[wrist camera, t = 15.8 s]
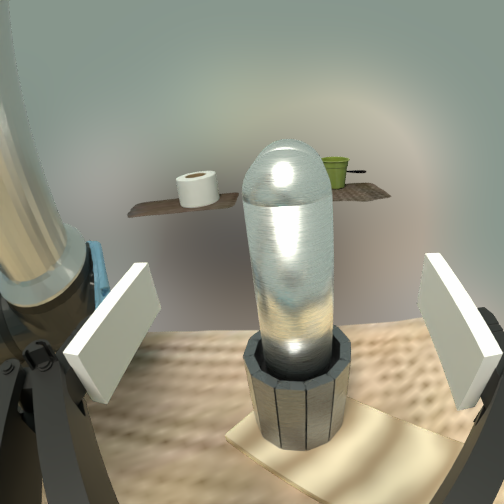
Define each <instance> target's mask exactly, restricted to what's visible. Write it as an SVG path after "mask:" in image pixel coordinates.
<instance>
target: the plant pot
mask: <svg viewBox="0 0 504 504" xmlns="http://www.w3.org/2000/svg"><path fill="white" fill-rule="evenodd" d="M321 159H322V161H323V164H324V166H325V169H326V171H327V174H328V176H329V179H330V182H331V188H332V189H339V188H344V186H345V178H346V169H347V166H348V161H349V158H344V157H325V158H321Z"/></svg>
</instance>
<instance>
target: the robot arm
mask: <svg viewBox="0 0 504 504" xmlns="http://www.w3.org/2000/svg"><path fill="white" fill-rule="evenodd" d="M9 1H10V0H0V504H42V478H43V483H44V488H45V492H46V497H47V501H48V504H119V503H118V500H117V498H116V495H115V493H114V490H113V488H112V485H111V482H110V480H109V477H108V474H107V471H106V468H105V466H104V463H103V460H102V457H101V454H100V450H99V447H98V444H97V441H96V437H95V434H94V431H93V427H92V423H91V420H90V416H89V412H88V408H87V404H86V402H85V400H84V399H83V397H84V395H85V393H86V392H87V393H88V395H89V396H90V398H91V399H92V401H95V402H99V403H103V404H108V402H109V400H110V398H111V396H112V395H113V393H114V391H115V389H116V387H117V385H118V384H119V382H120V380H121V378H122V376H123V374H124V373H125V371H126V369H127V367H128V365H129V364H130V362H131V360H132V358H133V356H134V355H135V353H136V351H137V349H138V348H139V346H140V344H141V342H142V341H143V339H144V337H145V335H146V334H147V332H148V330H149V328H150V327H151V325H152V323H153V321H154V320H155V318H156V316H157V315H158V313H159V311H160V310H161V306H160V302H159V299H158V296H157V293H156V289H155V286H154V283H153V279H152V276H151V272H150V269H149V266H148V263H134V264H133V266H132V267H131V268H130V269H129V271H127V273H126V274H125V275H124V276H123V277H122V279H121V280H120V281H119V282H118V283H117V285H116V286H115V287H114V288H113V289H112V291H110V287H109V282H108V278H107V273H106V268H105V263H104V257H103V252H102V247H101V244H100V243H99V242H97V241H87V242H86V243H85V240H84V238H83V236H82V235H81V233H80V232H79V231H78V230H77V229H76V228H75V227H73V226H71V225H69V224H65V223H62V220H61V218H60V215H59V213H58V210H57V208H56V205H55V202H54V199H53V197H52V194H51V191H50V188H49V186H48V183H47V180H46V177H45V174H44V171H43V168H42V165H41V162H40V158H39V156H38V153H37V149H36V146H35V142H34V138H33V135H32V132H31V128H30V124H29V120H28V116H27V112H26V108H25V104H24V100H23V95H22V90H21V86H20V81H19V76H18V70H17V65H16V59H15V53H14V47H13V39H12V31H11V22H10V11H9ZM417 305H418V307H419V310H420V312H421V314H422V316H423V319H424V321H425V324H426V326H427V328H428V331H429V333H430V336H431V338H432V341H433V343H434V346H435V348H436V351H437V354H438V356H439V359H440V361H441V364H442V367H443V370H444V372H445V375H446V378H447V381H448V384H449V387H450V390H451V393H452V396H453V399H454V402H455V405H456V408H457V411H458V410H463V409H468V408H472V407H475V405H476V404H477V402H478V400H479V399H480V397H481V399H482V401H483V404H484V405H483V407H482V408H481V410H480V412H479V413H478V415H477V416H476V418H475V419H474V421H473V422H475V423H474V425H473V427H472V430H471V432H470V434H469V436H468V438H467V440H466V442H465V444H464V446H463V447H462V449H461V451H460V453H459V455H458V457H457V459H456V460H455V462H454V464H453V466H452V467H451V469H450V471H449V473H448V474H447V476H446V478H445V479H444V481H443V483H442V484H441V486H440V487H439V489H438V490H437V492H436V494H435V495H434V497H433V498H432V500H431V501H430V503H429V504H493V501H494V499H495V497H496V495H497V493H498V491H499V489H500V487H501V484H502V482H503V480H504V332H503V329H502V328H501V326H500V325H499V323H498V321H497V320H496V318H495V316H494V315H493V314H492V313H491V312H490V311H488V310H487V309H486V308H485V307H482V308H476V306H475V304H474V303H473V301H472V300H471V298H470V297H469V295H468V294H467V292H466V290H465V289H464V287H463V286H462V284H461V283H460V281H459V280H458V278H457V277H456V276H455V274H454V273H453V271H452V270H451V268H450V267H449V265H448V264H447V263H446V261H445V260H444V258H443V257H442V256H441V254H440V253H428V254H425V259H424V265H423V271H422V277H421V283H420V289H419V294H418V300H417ZM55 353H56V354H55Z"/></svg>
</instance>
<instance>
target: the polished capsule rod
mask: <svg viewBox="0 0 504 504" xmlns="http://www.w3.org/2000/svg"><path fill="white" fill-rule="evenodd" d="M242 198H243V206H244V213H245V221H246V228H247V236H248V243H249V250H250V258H251V265H252V273H253V280H254V287H255V295H256V301H257V308H258V316H259V324H260V331H261V338H262V346H263V353H264V360H265V368H266V373H267V374H269V375H270V376H272V377H274V378H276V379H278V380H280V381H298V382H305V381H308V380H311V379H314V378H316V377H319V376H322V375H324V374H327V373H328V372H329V371H330V370H331V357H332V334H333V293H334V253H333V252H334V250H333V249H334V247H333V207H332V188H331V182H330V179H329V176H328V174H327V171H326V169H325V166H324V164H323V161H322V159H321V157H320V155H319V154H318V153H317V152H316V151H315V150H314V149H313V148H312V147H311V146H309V145H308V144H306V143H304V142H302V141H299V140H294V139H283V140H279V141H276V142H273V143H271V144H270V145H268V146H267V147H265V148H264V149H263V150H262V151H261V153H260V154H259V155H258V157H257V158H256V160H255V161H254V162H253V164H252V165H251V167H250V168H249V170H248V172H247V173H246V175H245V178H244V181H243V186H242Z"/></svg>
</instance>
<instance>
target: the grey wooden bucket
mask: <svg viewBox="0 0 504 504" xmlns="http://www.w3.org/2000/svg"><path fill="white" fill-rule="evenodd" d="M243 359H244V364H245V369H246V374H247V379H248V384H249V389H250V394H251V399H252V404H253V409H254V414H255V419H256V422H257V425H258V427H259V430H260V432H261V434H262V437H263V438H264V439H266V440H267V441H269V442H270V443H272V444H273V445H275V446H277V447H278V448H280V449H281V448H282V450H292V451H305V450H306V451H309V450H311V449H314V448H316V447H319V446H321V445H324V444H326V443H328V442H329V441H330V440H331V439H332V438H333V437H334V435H335V434H336V433H337V432H338V431H339V429H340V428H341V427H342V423H343V416H344V410H345V403H346V395H347V388H348V380H349V371H350V362H351V342H350V340H349V339H348V338H347V337H346V336H345V334H344V333H343V332H342V331H341V330H340V329H339V328H338V327H337V326H335V325H333V334H332V357H331V370H330V371H329V372H328V373H327V374H324V375H322V376H319V377H316V378H314V379H311V380H308V381H305V382H298V381H280V380H278V379H276V378H274V377H272V376H270V375H269V374H267V373H266V368H265V360H264V353H263V346H262V338H261V331H260V330H259V331H258V332H257V333H256V334H254V335H253V336H252V337H250V339H249V341H248V344H247V346H246V349H245V352H244V355H243Z"/></svg>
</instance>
